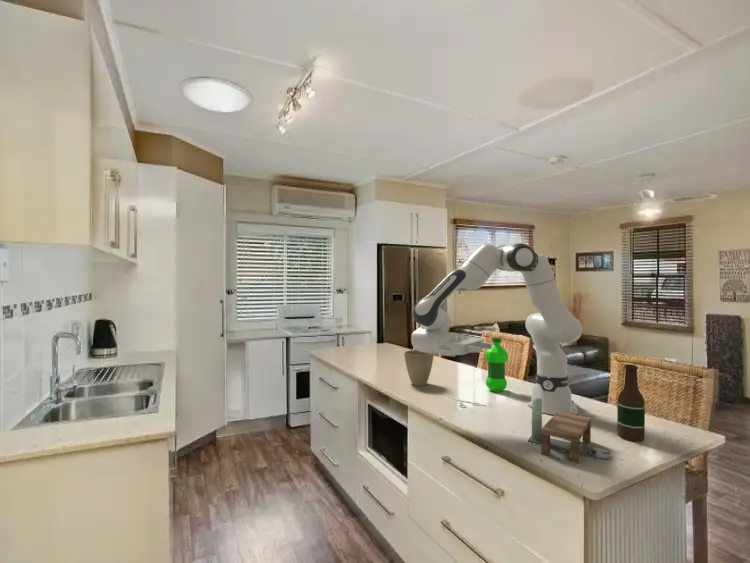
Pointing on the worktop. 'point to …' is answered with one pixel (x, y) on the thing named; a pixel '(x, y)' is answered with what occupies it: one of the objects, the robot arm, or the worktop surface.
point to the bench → (566, 432)
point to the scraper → (538, 426)
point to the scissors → (465, 401)
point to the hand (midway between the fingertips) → (486, 348)
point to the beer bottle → (631, 408)
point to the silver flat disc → (599, 453)
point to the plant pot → (418, 366)
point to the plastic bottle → (496, 366)
